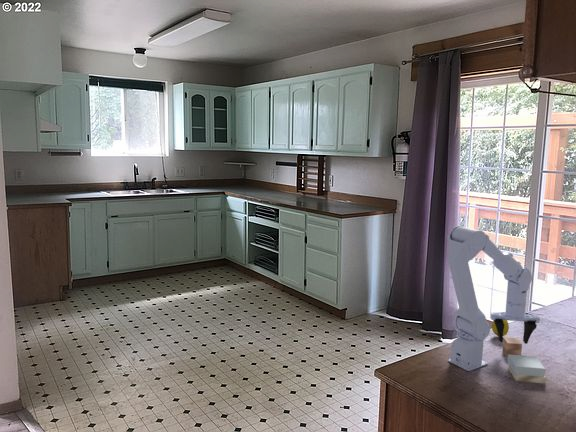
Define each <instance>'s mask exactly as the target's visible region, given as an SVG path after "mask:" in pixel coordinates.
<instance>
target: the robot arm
mask: <svg viewBox="0 0 576 432" xmlns="http://www.w3.org/2000/svg"><path fill="white" fill-rule="evenodd" d="M447 241H448V245H449V247H448V254H447V263H448V265H449V270H450V273H451V274H450V275H451V279H452V282H453V288H454V291H455V296H456V300H457V301H456V302H457V304H458V308H457V309H456V310H455V311H454V315H455V318H454V326H455V327H456V329H457V333H458V337H457V338H455V339H454V340H453V341H452V342H451V347H450V358H449V359H448V360H447V361H448V362H449V363H451V364H453V365H455V366H457V367H459V368H461V369H463V370H465V371H467V372H470V371H474V370H476V369H478V368H482V367H484V366H487V365H488V364H489V363H488V362H487V361H484V359H483V350H484V342H485V341H484V340H486V338H487V337H488V336H489V335H490V333H491V325H490V322H488V321H487V317H486V315H485V314H484V313H483V312H482V310H481V309H480V308H479V305H478V301H477V300H478V299H477V296H476V292H475V287H474V283H473V278H472V274H471V270H470V265H469V262H470V261H473V260H474V259H475V257H476V256H477V255H478V254H480V252H481V251H482V252H483V253H484V254H485V255H487V256H488V257H490V259H492V260H493V265H494V267H495V268H497V270H498V271H500V272H501V274H503V277H504V280H505V281H506V280H507V286H506V287H507V288H506V289H507V291H506V300H505V301H506V302H505V303H506V304H505V311H502V312H490V319H491V320H492V321H493V320H494V323H495V325H496V328H497V332H498V336H497V337H498V341H499V342H500V343H503V338H504V336H503V330H504V326H505V325H504V323H503V320H507V321H508V322H509V321H512V322H523V335H522V336H523V337H522V341H523V343H524V344H525V345H526V344H527V345H528V342H529V340H530V338H531V336H532V333H533V332H534V331H535V330H536V329H537V325H538V324H540V319H541V317H540V316H539V315H537V314H536V315H535V314H531V313H530V314H529V313H526V306H527V304H526V303H527V293H528V292H527V291H529V289H530V284H531V283H532V281H533V279H534V276H533V275H532V272H531V271H530V269H529V268H527V267H523V266H522V263H521V262H520V261H517V260H516V259H515V258H514V255H513V253H511V252H505V251H504V252H502V251H501V249H500V248H499V247H497V245H496V244H495V243H494V242H493V241H492V240H491V239H490V236H489V235H488V234H486V233H485V232H484V231H482V230H480V229H479V230H477V229H474V228H471V227H466V226H463V225H455V226H454V227H453V228H451V231H450V232H449V234H448V235H447Z"/></svg>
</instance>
